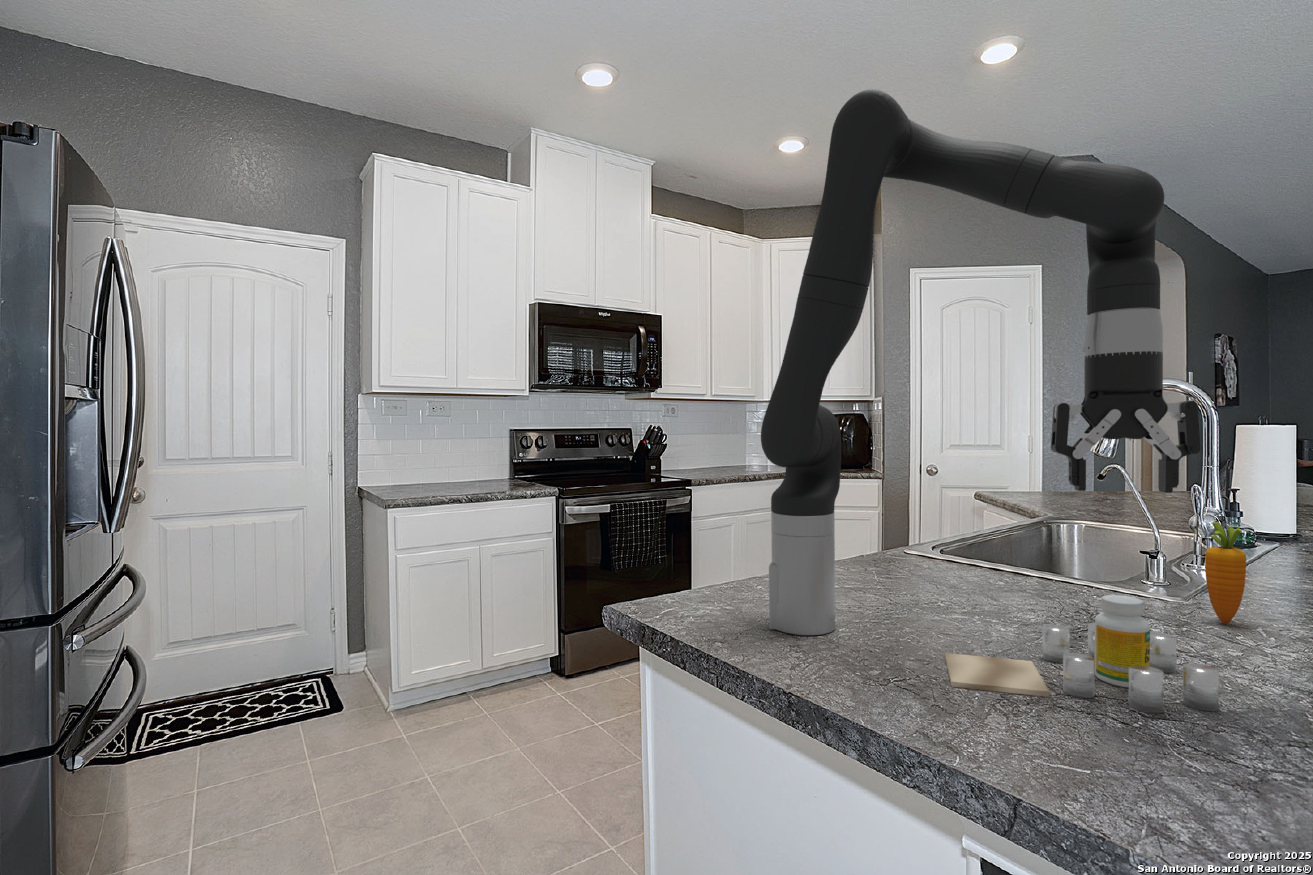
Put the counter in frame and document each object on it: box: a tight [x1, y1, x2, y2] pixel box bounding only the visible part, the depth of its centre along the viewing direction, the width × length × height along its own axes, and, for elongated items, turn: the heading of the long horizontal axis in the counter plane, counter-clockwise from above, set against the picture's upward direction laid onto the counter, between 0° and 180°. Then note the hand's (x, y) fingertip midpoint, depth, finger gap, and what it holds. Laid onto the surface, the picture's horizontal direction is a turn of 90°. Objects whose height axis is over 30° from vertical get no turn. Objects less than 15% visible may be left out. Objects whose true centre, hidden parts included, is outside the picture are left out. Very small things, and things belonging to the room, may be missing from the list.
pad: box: [944, 652, 1051, 698], centre depth 81 cm, size 10×10×1 cm
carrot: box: [1204, 521, 1247, 626], centre depth 100 cm, size 5×5×15 cm
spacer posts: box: [1041, 622, 1220, 714], centre depth 80 cm, size 14×19×4 cm
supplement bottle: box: [1094, 594, 1151, 689], centre depth 80 cm, size 5×5×10 cm
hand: (1122, 491), depth 79 cm, fingers open, 8 cm apart
